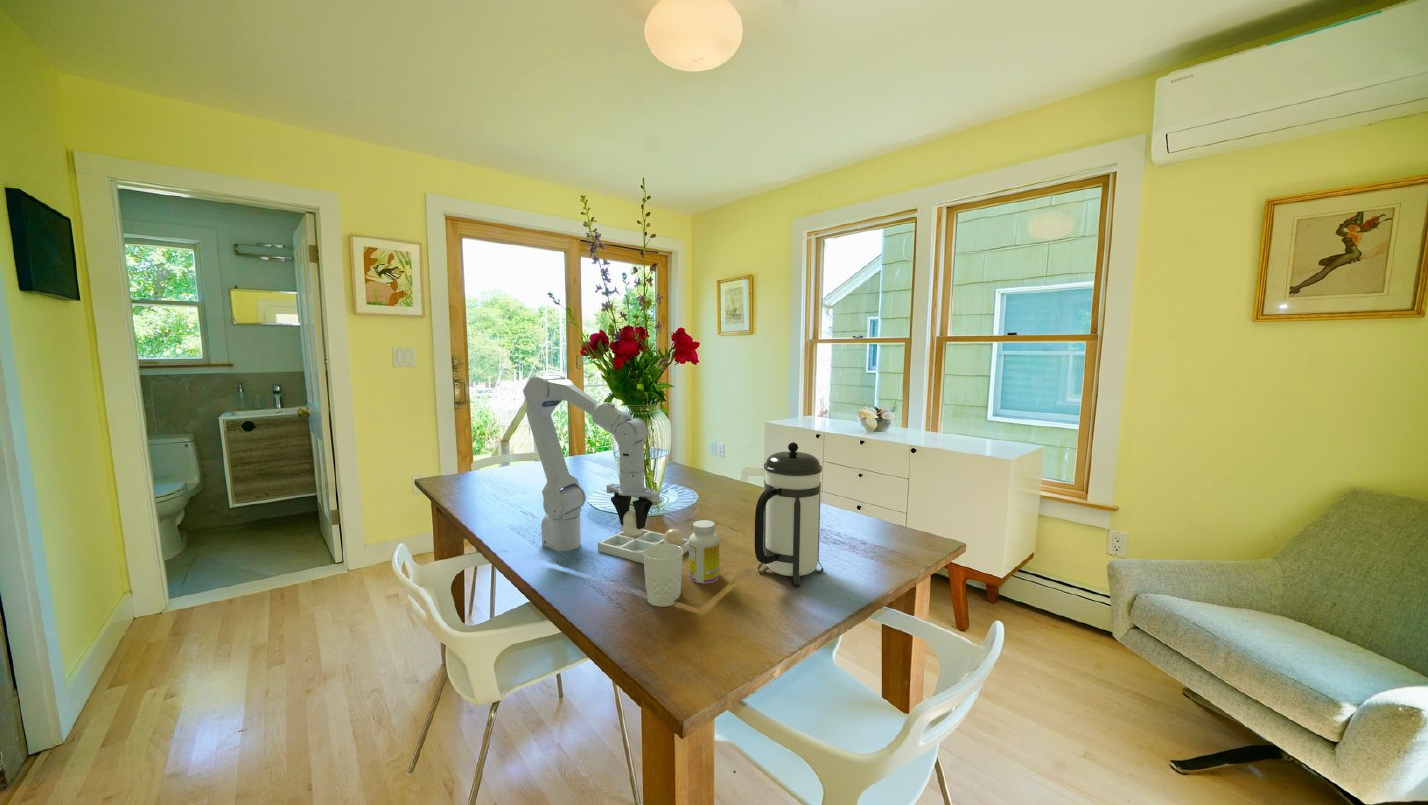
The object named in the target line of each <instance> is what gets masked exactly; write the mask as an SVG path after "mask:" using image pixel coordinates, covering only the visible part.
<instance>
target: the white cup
mask: <svg viewBox="0 0 1428 805" xmlns="http://www.w3.org/2000/svg"><path fill="white" fill-rule="evenodd" d="M683 558H684V554H683V549H682V548H681V547H679V546H677V545H673V544H657V545H653V546H650V547H648V548H646V549H645V550H644V563H643V566H644V567H643V569H644V580H645V581H644V582H645V589H646V599H647V600H646V601H647V603H648V604H650V605H651V606H655V607H659V608H660V607H661V608H663V607H664V608H665V607H670V606H673V605H676V604H677V603H679V601H678V600H677V599H679V598H680V595H681V594H682V592H681V591H682V590H681V588H682V582H683V581H682V577H683V561H684V559H683Z"/></svg>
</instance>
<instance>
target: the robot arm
mask: <svg viewBox="0 0 1428 805" xmlns="http://www.w3.org/2000/svg"><path fill="white" fill-rule="evenodd" d="M522 392H523V396H524V398H525V402H526V410H525V411H526V416H527V420H528V424H529V427H530V431H531V432H532V433H531V434H532V436H533V440H534V442H535V446H536V449H537V452H538V456H539V458H540V459H539V460H540V463H541V464H542V468H543V472H544V475H545V478H546V483H545V485H544V487H543V489H542V491H541V492H542V493H541V494H542V496H543V497H542V498H543V503H542V506H543V511H544V512H545V514H544V516H543V519H542V521H541V525H540V527H541V528H540V530H541V546H543V547H547V548H549V549H551V550H553V551H556V552H567V551H573V550H575V549H578V548H579V547H581V546H582V544H581V543H582V540H581V538H582V537H581V534H582V533H581V512H582V507H583V506H584V504H585V503H586V499H587V498H586V493H585V490H584V489H583V488H582V487H581V485H580V483H579V481H578V478H576V477H575V476H573V475H572V474H570V471H569V469H568V466H567V463H566V459H565V456H564V453H563V450H562V446H561V443H560V440H559V436H558V434H557V430H556V427H555V424H554V421H553V417H552V414H553V413H554V410H555V409H556V408H557V406H559V405H560V404H561V403H562V402H563V401H565V402H568V403H570V404H571V405H573V406H575V407H576V408H579V409H580V410H582V411H584V412H585V413H586V414H587V413H588V414H589V415H591V419H592V422H593V423H594V424H595V425H597V426H599V427H600V428H602V429H603V430H605V431H606V432H608V433H610V434H611V435H612V436H613V438H614V439H615V441H616V443H617V445H618V451H619V455H618V456H619V457H618V458H619V483H609V484H607V485H606V494H613V496H611V497H610V502H611V503H612V506H614V508H615V511H616V513H617V516H618V520H619V522H620V525H621V526H623V517H624V515H625V513H626V512H627V511H629V510H630V509H631V508H630V507H631V503H632V506H633V508H634V509H633V510H635V513H636V526H637V529H639V530H640V529H644V528H645V527H646V522H647V518H648V515H649V512H650V510H651V508H652V506H653V504H654V503H655V502H657V501H660V492H659V491H657V490H656V491H655V490H653V489H651V488H648V487H646V486H645V441H644V440H646V439H647V437H648V434H649V428H648V425H647V423H646V422H645V421H644V420H643V419H642V418H640V417H634V418H632V416H631V414H630V413H628V412H627V413H624V412H623V411H622V410H620V409H618V408H617V407H616V404H615V403H614V402H605V401H604V402H601V403H600V402H598V401H597V400H596V399H594V398H593V397H591V396H590V395H589V394H587V393H586V392H585V391H583V390H582V389H580V388H579V387H577V385H576V384H574V383H573V381H572V380H571V379H568V378H567V377H565V376H563V375H561V374H557V375H552V376H549V375H548V376H532V377H530V378H529V379H528V380H527V382H526V384H525V386H524V388H523V390H522ZM632 498H637V499H636V500H634V501H632ZM631 501H632V502H631Z"/></svg>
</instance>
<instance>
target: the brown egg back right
mask: <svg viewBox="0 0 1428 805" xmlns="http://www.w3.org/2000/svg"><path fill="white" fill-rule="evenodd" d="M664 534H665V535H664V544H673V545H677V546H679V547H680V546H681V545H682V538H683V535H682V532H681V531H680V530H679V529H677V528H669V529H668V530H667V531H666V532H665V533H664Z"/></svg>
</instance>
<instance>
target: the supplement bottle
mask: <svg viewBox="0 0 1428 805" xmlns="http://www.w3.org/2000/svg"><path fill="white" fill-rule="evenodd" d="M692 524H693V526H692V530H693V533H692V534H690V536H689V538H688V540H689V551H688V577H689V579H690V580H691V581H692V582H694V583H699V584H710V583H714V582H716V581H718V580H719V578H720V537H719V536H718V534H717V533H716V532H715V529H716V527H715V526H716V524H715V522H714V521H712V520H707V519H705V520H704V519H703V520H696V521H694V522H693V523H692Z"/></svg>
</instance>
